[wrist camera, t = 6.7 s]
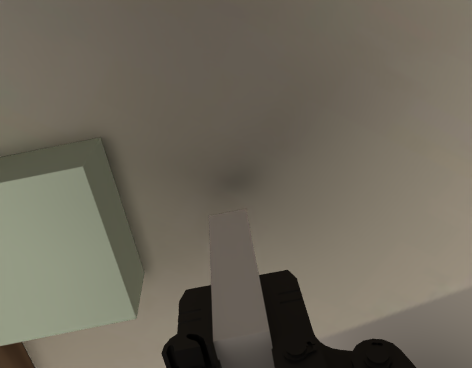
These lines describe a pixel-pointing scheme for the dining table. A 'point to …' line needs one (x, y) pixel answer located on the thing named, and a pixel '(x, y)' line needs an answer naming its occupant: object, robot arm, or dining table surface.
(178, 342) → the robot arm
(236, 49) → the dining table surface
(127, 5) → the dining table surface
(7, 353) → the board
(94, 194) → the block
